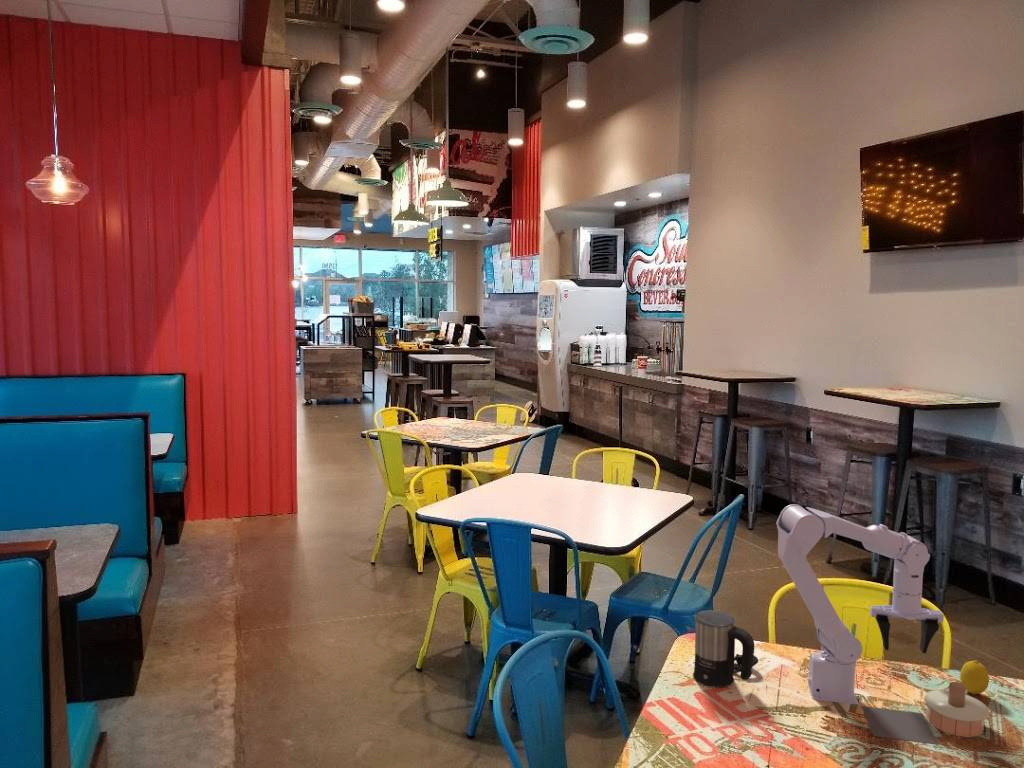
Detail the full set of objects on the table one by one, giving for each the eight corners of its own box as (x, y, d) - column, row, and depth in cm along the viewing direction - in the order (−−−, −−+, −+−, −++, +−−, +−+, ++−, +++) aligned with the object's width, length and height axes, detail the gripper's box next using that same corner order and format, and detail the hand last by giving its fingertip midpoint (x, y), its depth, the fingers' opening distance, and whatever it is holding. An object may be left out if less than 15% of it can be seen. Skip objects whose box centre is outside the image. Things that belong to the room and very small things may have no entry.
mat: (873, 737, 157) (873, 735, 157) (861, 707, 169) (861, 705, 169) (938, 746, 154) (939, 744, 154) (922, 715, 166) (922, 713, 166)
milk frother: (689, 683, 179) (691, 621, 177) (699, 655, 193) (701, 597, 192) (754, 695, 173) (756, 631, 172) (759, 665, 188) (761, 605, 187)
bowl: (935, 734, 158) (936, 715, 158) (921, 709, 168) (922, 691, 168) (989, 741, 156) (991, 722, 156) (973, 715, 166) (974, 697, 165)
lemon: (991, 702, 172) (994, 667, 171) (964, 699, 173) (966, 664, 172) (981, 690, 177) (984, 656, 176) (955, 687, 178) (957, 653, 177)
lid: (932, 717, 157) (934, 695, 157) (918, 689, 169) (919, 669, 168) (997, 725, 155) (998, 703, 154) (978, 696, 166) (979, 676, 165)
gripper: (875, 594, 170) (872, 654, 171) (949, 600, 166) (945, 661, 168) (868, 583, 177) (866, 640, 178) (939, 588, 173) (936, 646, 175)
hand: (904, 649), depth 174 cm, fingers open, 7 cm apart
